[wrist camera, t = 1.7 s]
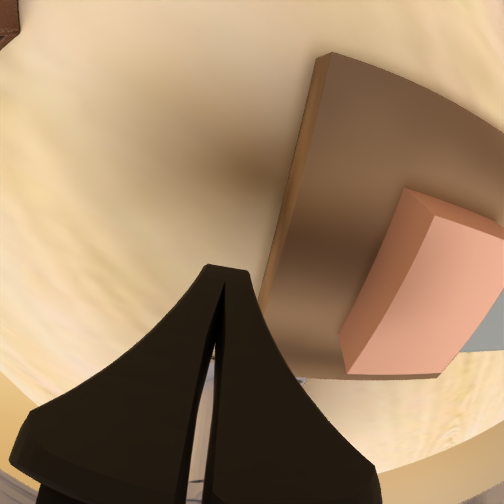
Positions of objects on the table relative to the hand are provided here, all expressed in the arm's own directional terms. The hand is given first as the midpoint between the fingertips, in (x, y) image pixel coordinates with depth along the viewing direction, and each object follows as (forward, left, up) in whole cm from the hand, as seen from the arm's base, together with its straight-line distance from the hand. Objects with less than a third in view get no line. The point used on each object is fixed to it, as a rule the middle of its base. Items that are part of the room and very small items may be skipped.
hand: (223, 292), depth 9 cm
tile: (0, -9, -3) cm, 9 cm away
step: (0, -9, -6) cm, 11 cm away
